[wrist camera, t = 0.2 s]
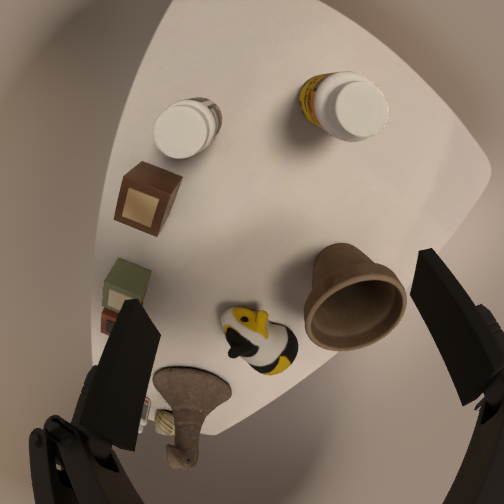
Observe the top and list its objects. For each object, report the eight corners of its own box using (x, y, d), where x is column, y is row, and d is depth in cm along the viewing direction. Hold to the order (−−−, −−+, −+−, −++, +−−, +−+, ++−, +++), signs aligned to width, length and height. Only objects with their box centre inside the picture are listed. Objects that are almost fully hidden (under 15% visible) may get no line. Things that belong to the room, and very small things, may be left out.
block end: (113, 289, 37) (101, 313, 32) (143, 301, 38) (133, 327, 34) (111, 309, 39) (100, 333, 35) (138, 320, 41) (129, 345, 36)
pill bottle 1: (128, 393, 58) (120, 425, 49) (144, 394, 57) (137, 427, 49) (138, 402, 61) (131, 432, 52) (154, 403, 60) (148, 435, 52)
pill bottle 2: (167, 127, 24) (136, 143, 18) (193, 88, 22) (169, 89, 15) (205, 150, 26) (187, 175, 19) (232, 113, 24) (224, 123, 17)
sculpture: (179, 354, 46) (162, 457, 29) (248, 386, 52) (247, 474, 36) (141, 379, 52) (124, 458, 36) (201, 405, 59) (195, 477, 42)
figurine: (252, 280, 36) (253, 327, 29) (305, 336, 43) (312, 377, 36) (205, 305, 38) (198, 350, 32) (263, 354, 45) (265, 394, 39)
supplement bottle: (311, 65, 21) (345, 54, 13) (359, 92, 22) (411, 99, 14) (287, 112, 24) (308, 125, 15) (336, 136, 25) (377, 163, 17)
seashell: (203, 421, 64) (187, 449, 58) (179, 409, 70) (165, 435, 63) (182, 410, 59) (164, 440, 52) (158, 397, 64) (142, 425, 58)
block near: (142, 160, 26) (122, 176, 22) (183, 176, 28) (170, 194, 23) (131, 199, 29) (112, 220, 25) (169, 214, 30) (156, 237, 26)
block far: (118, 257, 33) (103, 281, 29) (151, 270, 35) (140, 296, 30) (114, 282, 36) (101, 306, 32) (144, 294, 37) (134, 320, 33)
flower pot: (278, 247, 33) (287, 307, 24) (365, 208, 30) (402, 258, 21) (311, 305, 38) (324, 363, 30) (383, 275, 35) (410, 328, 27)
